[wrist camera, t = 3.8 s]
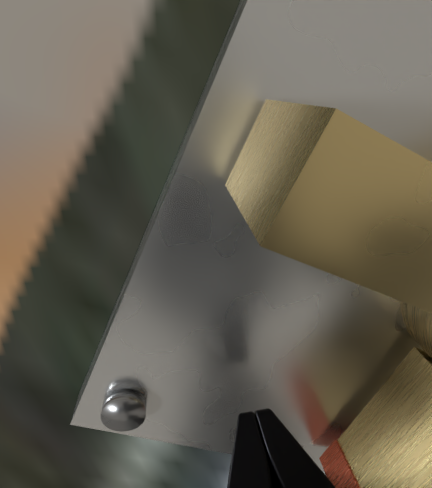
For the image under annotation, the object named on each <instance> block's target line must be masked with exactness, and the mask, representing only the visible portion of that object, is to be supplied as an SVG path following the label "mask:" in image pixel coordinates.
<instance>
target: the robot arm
mask: <svg viewBox="0 0 432 488" xmlns="http://www.w3.org/2000/svg"><path fill="white" fill-rule="evenodd" d="M227 488H335V486H334V485H333V484H332V483H331V481H330V480H329V479H328V478H327V477H326V475H325V474H324V473H323V472H322V471H321V469H320V468H319V467H318V466H317V464H316V463H315V462H314V461H313V460H312V458H311V457H310V456H309V455H308V454H307V452H306V451H305V450H304V449H303V448H302V446H301V445H300V444H299V443H298V441H297V440H296V439H295V438H294V437H293V435H292V434H291V433H290V432H289V431H288V429H287V428H286V427H285V426H284V424H283V423H282V422H281V421H280V420H279V418H278V417H277V416H276V415H275V414H274V412H273V411H272V410H271V409H269V408H266V409H260V410H256V411H255V413H254V412H252V411H249V412H243V413H239V415H238V418H237V425H236V432H235V438H234V445H233V452H232V459H231V465H230V472H229V479H228V486H227Z"/></svg>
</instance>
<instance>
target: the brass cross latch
mask: <svg viewBox="0 0 432 488" xmlns="http://www.w3.org/2000/svg"><path fill="white" fill-rule="evenodd" d="M225 186H226V188H227V189H228V191H229V193H230V195H231V196H232V198H233V200H234V202H235V203H236V205H237V207H238V209H239V210H240V212H241V214H242V215H243V217H244V219H245V221H246V222H247V224H248V226H249V228H250V229H251V231H252V233H253V235H254V236H255V238H256V240H257V242H258V243H259V245H260V246H261V247H263V248H266V249H268V250H271V251H274V252H276V253H279V254H281V255H284V256H286V257H289V258H291V259H294V260H297V261H299V262H302V263H304V264H307V265H309V266H312V267H315V268H317V269H320V270H322V271H325V272H327V273H330V274H333V275H335V276H338V277H340V278H343V279H345V280H348V281H351V282H353V283H356V284H358V285H361V286H363V287H366V288H368V289H371V290H374V291H376V292H379V293H381V294H384V295H386V296H389V297H392V298H394V299H397V300H399V301H401V313H402V318H403V322H404V324H405V326H406V329H407V331H408V332H409V334H410V335H411V337H412V338H413V339H414V340H415V342H416V343H417V344H418V345H419V346H420V347H421V348H422V349H423V350H422V349H419V348H416V347H414V348H413V349H412V350H411V352H410V353H409V354H408V355H407V356H406V358H405V359H404V360H403V361H402V363H401V364H400V365H399V366H398V367H397V369H396V370H395V371H394V372H393V373H392V375H391V376H390V377H389V378H388V379H387V381H386V382H385V383H384V384H383V385H382V387H381V388H380V389H379V390H378V392H377V393H376V394H375V395H374V396H373V398H372V399H371V400H370V401H369V402H368V404H367V405H366V406H365V407H364V408H363V410H362V411H361V412H360V413H359V414H358V416H357V417H356V418H355V419H354V421H353V422H352V423H351V424H350V425H349V427H348V428H347V429H346V430H345V431H344V433H343V434H342V435H341V436H340V437H339V439H335V440H334V441H333V442H332V443H331V444H330V446H329V447H328V448H327V449H326V450H325V452H324V453H323V454H322V455H321V457H320V458H319V459H320V461H321V464H322V466H323V469H324V471H325V474H326V476H327V478H328V479H329V480H330V481H331V483H332V484H333V485H334V486H335V488H432V162H430V161H429V160H427V159H425V158H423V157H422V156H420V155H418V154H416V153H414V152H413V151H411V150H409V149H407V148H406V147H404V146H402V145H400V144H399V143H397V142H395V141H393V140H391V139H390V138H388V137H386V136H384V135H383V134H381V133H379V132H377V131H375V130H374V129H372V128H370V127H368V126H367V125H365V124H363V123H361V122H360V121H358V120H356V119H354V118H352V117H351V116H349V115H347V114H345V113H344V112H342V111H340V110H338V109H336V108H329V107H322V106H314V105H306V104H299V103H291V102H283V101H276V100H268V99H266V100H265V102H264V104H263V106H262V108H261V111H260V113H259V115H258V117H257V119H256V121H255V123H254V125H253V127H252V129H251V131H250V134H249V136H248V138H247V140H246V142H245V144H244V146H243V148H242V150H241V152H240V155H239V157H238V159H237V161H236V163H235V165H234V167H233V169H232V171H231V173H230V175H229V178H228V180H227V182H226V184H225Z"/></svg>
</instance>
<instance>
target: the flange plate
mask: <svg viewBox="0 0 432 488" xmlns="http://www.w3.org/2000/svg"><path fill="white" fill-rule="evenodd" d="M266 99H268V100H276V101H283V102H291V103H299V104H306V105H314V106H322V107H329V108H336V109H338V110H340V111H342V112H344V113H345V114H347V115H349V116H351V117H352V118H354V119H356V120H358V121H360V122H361V123H363V124H365V125H367V126H368V127H370V128H372V129H374V130H375V131H377V132H379V133H381V134H383V135H384V136H386V137H388V138H390V139H391V140H393V141H395V142H397V143H399V144H400V145H402V146H404V147H406V148H407V149H409V150H411V151H413V152H414V153H416V154H418V155H420V156H422V157H423V158H425V159H427V160H429V161H430V162H432V0H241V1H240V3H239V6H238V8H237V11H236V13H235V16H234V18H233V20H232V23H231V25H230V28H229V30H228V33H227V35H226V37H225V40H224V42H223V45H222V47H221V50H220V52H219V54H218V57H217V59H216V62H215V64H214V67H213V69H212V71H211V74H210V76H209V79H208V81H207V84H206V86H205V88H204V91H203V93H202V96H201V98H200V101H199V103H198V105H197V108H196V110H195V113H194V115H193V118H192V120H191V122H190V125H189V127H188V130H187V132H186V135H185V137H184V139H183V142H182V144H181V147H180V149H179V152H178V154H177V156H176V159H175V161H174V164H173V166H172V168H171V171H170V173H169V176H168V178H167V181H166V183H165V185H164V188H163V190H162V193H161V195H160V198H159V200H158V202H157V205H156V207H155V210H154V212H153V215H152V217H151V219H150V222H149V224H148V227H147V229H146V232H145V234H144V236H143V239H142V241H141V244H140V246H139V249H138V251H137V253H136V256H135V258H134V261H133V263H132V266H131V268H130V270H129V273H128V275H127V278H126V280H125V283H124V285H123V287H122V290H121V292H120V295H119V297H118V300H117V302H116V304H115V307H114V309H113V312H112V314H111V317H110V319H109V321H108V324H107V326H106V329H105V331H104V334H103V336H102V338H101V341H100V343H99V346H98V348H97V351H96V353H95V355H94V358H93V360H92V363H91V365H90V368H89V370H88V372H87V375H86V377H85V380H84V382H83V385H82V387H81V389H80V392H79V396H78V399H77V403H76V406H75V409H74V413H73V416H72V420H71V423H70V425H76V426H81V427H87V428H92V429H97V430H103V431H108V432H114V433H119V434H125V435H130V436H135V437H141V438H146V439H152V440H157V441H163V442H168V443H173V444H179V445H184V446H190V447H195V448H200V449H206V450H211V451H217V452H222V453H228V454H232V452H233V445H234V438H235V432H236V425H237V418H238V415H239V413H243V412H249V411H252V412H254V413H255V411H256V410H260V409H266V408H269V409H271V410H272V411H273V412H274V414H275V415H276V416H277V417H278V418H279V420H280V421H281V422H282V423H283V424H284V426H285V427H286V428H287V429H288V431H289V432H290V433H291V434H292V435H293V437H294V438H295V439H296V440H297V441H298V443H299V444H300V445H301V446H302V448H303V449H304V450H305V451H306V452H307V454H308V455H309V456H310V457H311V458H312V460H313V461H314V462H315V463H316V464H317V466H318V467H319V468H320V469H321V471H324V469H323V466H322V464H321V461H320V459H319V458H320V457H321V455H322V454H323V453H324V452H325V450H326V449H327V448H328V447H329V446H330V444H331V443H332V442H333V441H334V440H335V439H339V437H340V436H341V435H342V434H343V433H344V431H345V430H346V429H347V428H348V427H349V425H350V424H351V423H352V422H353V421H354V419H355V418H356V417H357V416H358V414H359V413H360V412H361V411H362V410H363V408H364V407H365V406H366V405H367V404H368V402H369V401H370V400H371V399H372V398H373V396H374V395H375V394H376V393H377V392H378V390H379V389H380V388H381V387H382V385H383V384H384V383H385V382H386V381H387V379H388V378H389V377H390V376H391V375H392V373H393V372H394V371H395V370H396V369H397V367H398V366H399V365H400V364H401V363H402V361H403V360H404V359H405V358H406V356H407V355H408V354H409V353H410V352H411V350H412V349H413V348H414V347H416V348H419V349H422V348H421V347H420V346H419V345H418V344H417V343H416V342H415V340H414V339H413V338H412V337H411V335H410V334H409V332H408V331H407V329H406V326H405V324H404V322H403V318H402V313H401V301H399V300H397V299H394V298H392V297H389V296H386V295H384V294H381V293H379V292H376V291H374V290H371V289H368V288H366V287H363V286H361V285H358V284H356V283H353V282H351V281H348V280H345V279H343V278H340V277H338V276H335V275H333V274H330V273H327V272H325V271H322V270H320V269H317V268H315V267H312V266H309V265H307V264H304V263H302V262H299V261H297V260H294V259H291V258H289V257H286V256H284V255H281V254H279V253H276V252H274V251H271V250H268V249H266V248H263V247H261V246H260V245H259V243H258V242H257V240H256V238H255V236H254V235H253V233H252V231H251V229H250V228H249V226H248V224H247V222H246V221H245V219H244V217H243V215H242V214H241V212H240V210H239V209H238V207H237V205H236V203H235V202H234V200H233V198H232V196H231V195H230V193H229V191H228V189H227V188H226V186H225V184H226V182H227V180H228V178H229V175H230V173H231V171H232V169H233V167H234V165H235V163H236V161H237V159H238V157H239V155H240V152H241V150H242V148H243V146H244V144H245V142H246V140H247V138H248V136H249V134H250V131H251V129H252V127H253V125H254V123H255V121H256V119H257V117H258V115H259V113H260V111H261V108H262V106H263V104H264V102H265V100H266ZM422 350H423V349H422Z"/></svg>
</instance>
